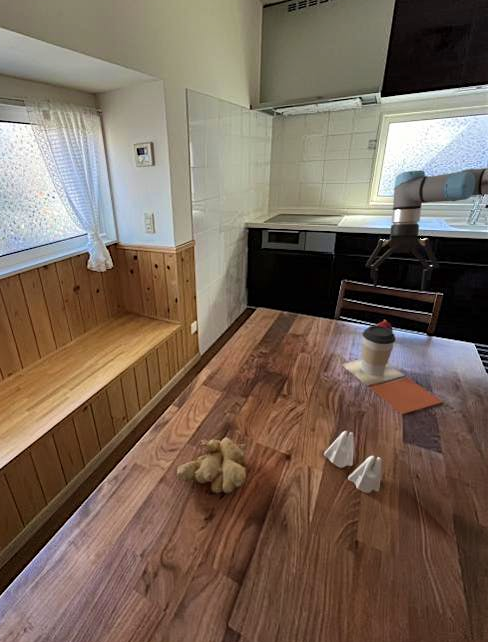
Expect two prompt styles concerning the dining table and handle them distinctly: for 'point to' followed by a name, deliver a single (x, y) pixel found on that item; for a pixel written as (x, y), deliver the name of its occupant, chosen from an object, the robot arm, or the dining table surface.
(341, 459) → the shaker set
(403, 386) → the terracotta mat
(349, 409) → the dining table surface
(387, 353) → the coffee cup
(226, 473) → the ginger root
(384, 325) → the onion
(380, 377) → the cream mat
